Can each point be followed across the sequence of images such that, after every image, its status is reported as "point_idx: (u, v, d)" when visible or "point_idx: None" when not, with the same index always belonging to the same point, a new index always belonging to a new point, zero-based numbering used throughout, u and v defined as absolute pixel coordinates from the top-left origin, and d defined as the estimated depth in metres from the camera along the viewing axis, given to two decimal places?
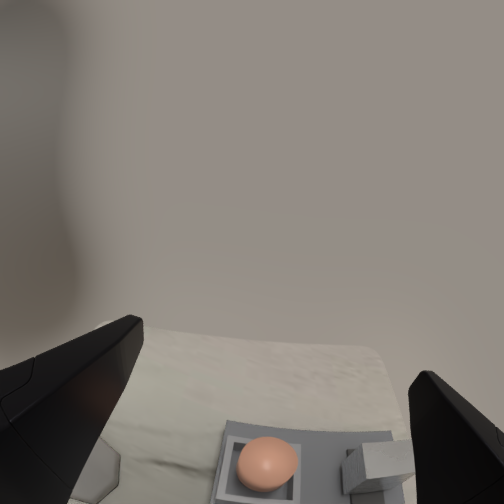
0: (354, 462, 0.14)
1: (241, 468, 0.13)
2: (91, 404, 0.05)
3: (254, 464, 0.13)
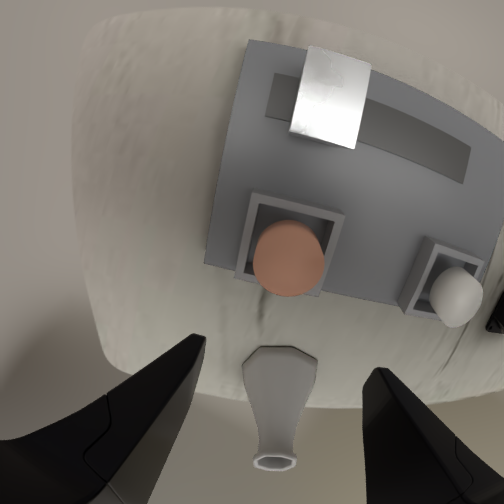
0: (308, 137, 0.13)
1: None
2: (166, 434, 0.05)
3: (293, 282, 0.14)
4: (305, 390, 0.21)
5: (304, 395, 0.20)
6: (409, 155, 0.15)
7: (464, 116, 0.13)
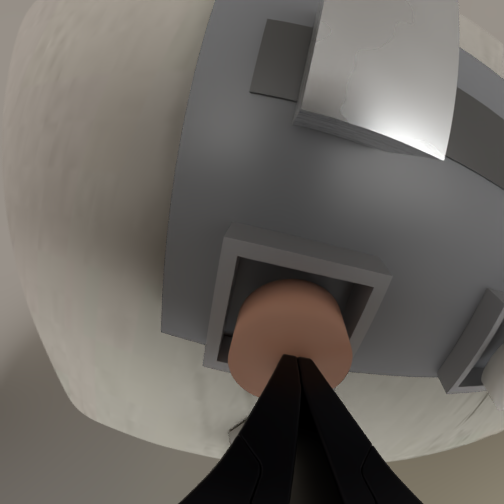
0: (338, 128, 0.06)
1: None
2: None
3: None
4: None
5: None
6: (484, 169, 0.07)
7: None
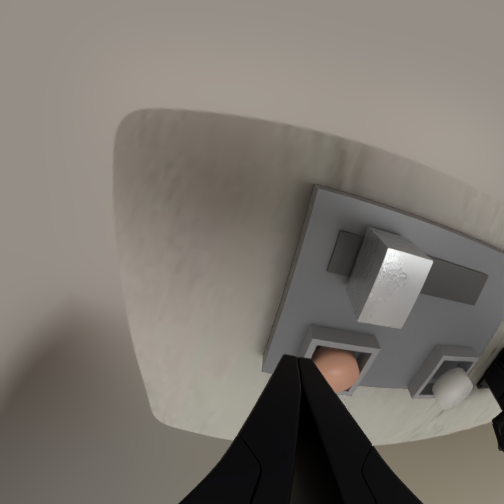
0: None
1: None
2: None
3: (336, 386, 0.19)
4: None
5: None
6: (437, 294, 0.17)
7: (489, 249, 0.16)
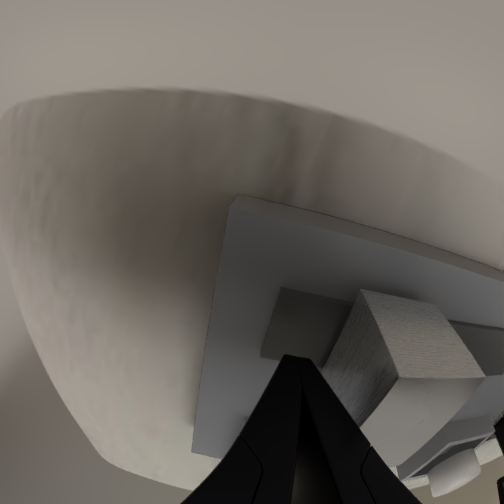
0: None
1: None
2: None
3: None
4: None
5: None
6: None
7: None
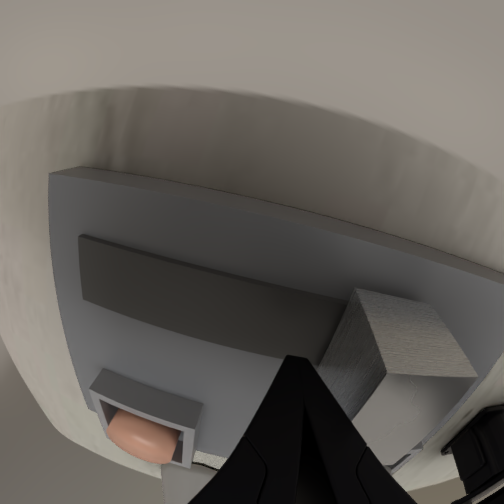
0: None
1: None
2: None
3: (147, 456, 0.11)
4: None
5: None
6: None
7: (446, 268, 0.08)
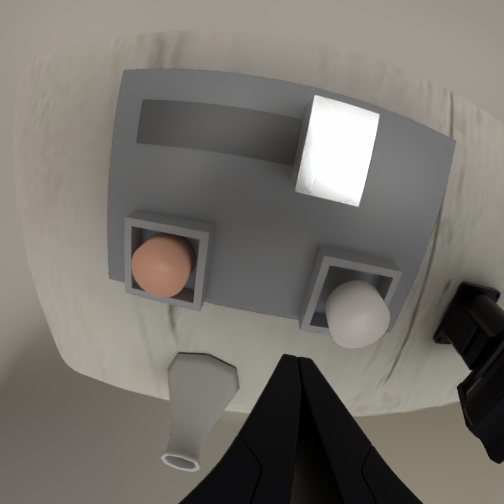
0: None
1: None
2: None
3: (164, 285, 0.16)
4: (218, 397, 0.21)
5: (216, 402, 0.21)
6: (286, 160, 0.15)
7: (366, 104, 0.14)
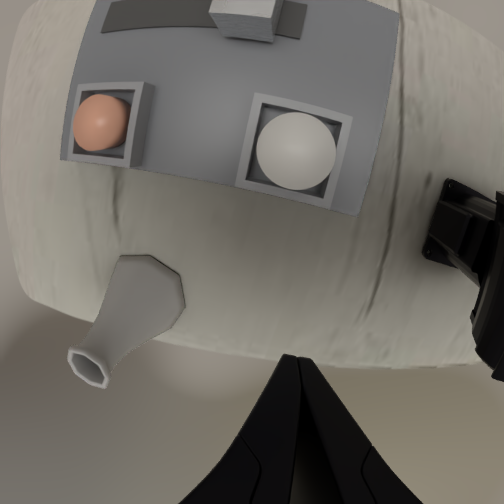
0: (232, 24, 0.11)
1: (101, 148, 0.14)
2: None
3: (97, 136, 0.14)
4: (150, 301, 0.19)
5: (147, 305, 0.18)
6: None
7: None
